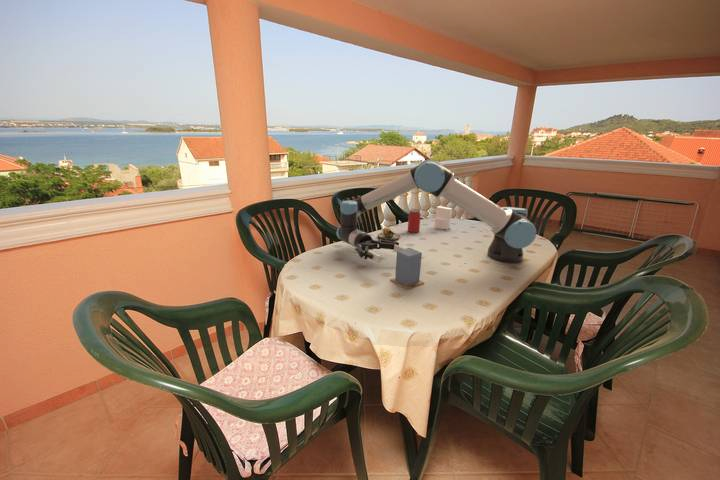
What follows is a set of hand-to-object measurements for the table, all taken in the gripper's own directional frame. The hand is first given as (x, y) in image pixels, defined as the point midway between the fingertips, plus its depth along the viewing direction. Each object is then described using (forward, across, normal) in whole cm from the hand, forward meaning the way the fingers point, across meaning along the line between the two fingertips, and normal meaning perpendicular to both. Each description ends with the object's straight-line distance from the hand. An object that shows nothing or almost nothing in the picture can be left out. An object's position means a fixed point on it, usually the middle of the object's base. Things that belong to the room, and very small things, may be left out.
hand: (393, 255), depth 124 cm
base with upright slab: (-33, -69, -8) cm, 77 cm away
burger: (-35, -29, -8) cm, 46 cm away
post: (+9, 0, -8) cm, 12 cm away
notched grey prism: (+9, 0, -7) cm, 11 cm away
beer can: (-36, -48, -8) cm, 61 cm away
